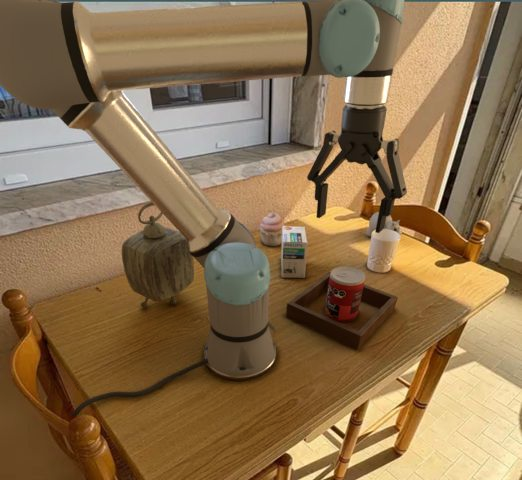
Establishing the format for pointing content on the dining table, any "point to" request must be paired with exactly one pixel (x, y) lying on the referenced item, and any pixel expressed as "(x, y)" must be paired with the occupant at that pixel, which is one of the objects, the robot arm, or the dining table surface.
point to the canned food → (344, 293)
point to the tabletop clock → (157, 261)
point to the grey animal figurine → (388, 224)
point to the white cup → (382, 250)
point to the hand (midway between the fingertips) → (349, 222)
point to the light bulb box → (293, 252)
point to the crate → (335, 328)
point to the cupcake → (271, 229)
